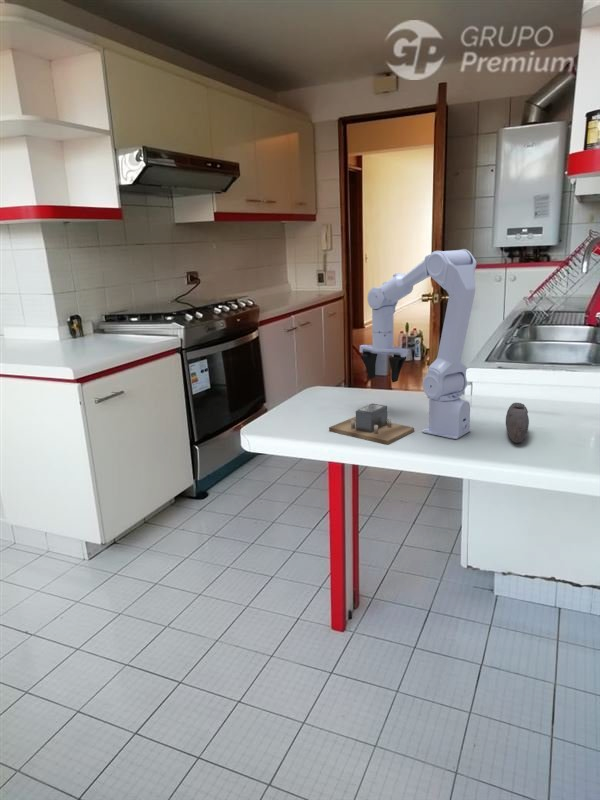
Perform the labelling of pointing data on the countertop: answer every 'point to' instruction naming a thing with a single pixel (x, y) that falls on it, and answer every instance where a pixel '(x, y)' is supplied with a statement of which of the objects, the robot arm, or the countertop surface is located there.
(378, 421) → the block
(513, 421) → the perforated stone tool
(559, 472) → the countertop surface
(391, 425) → the pin tray
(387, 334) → the robot arm
